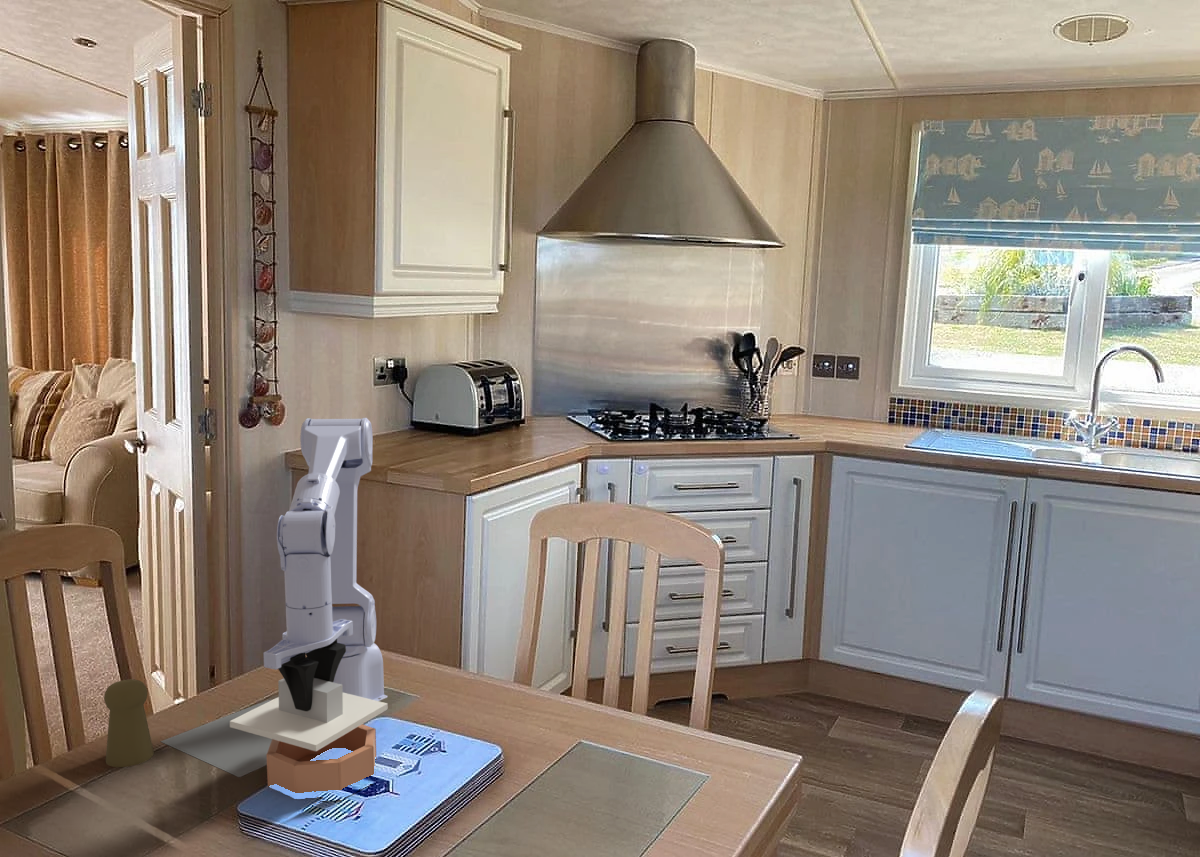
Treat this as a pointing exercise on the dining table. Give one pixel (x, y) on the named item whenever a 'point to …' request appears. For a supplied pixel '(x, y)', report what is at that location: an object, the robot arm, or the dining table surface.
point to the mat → (225, 745)
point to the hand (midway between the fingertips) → (312, 704)
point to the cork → (127, 724)
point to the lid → (310, 716)
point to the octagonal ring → (322, 763)
